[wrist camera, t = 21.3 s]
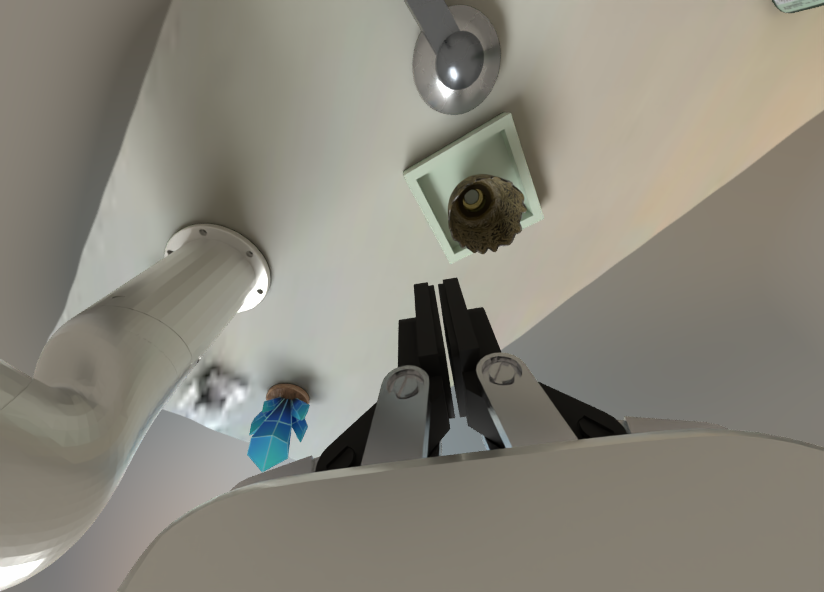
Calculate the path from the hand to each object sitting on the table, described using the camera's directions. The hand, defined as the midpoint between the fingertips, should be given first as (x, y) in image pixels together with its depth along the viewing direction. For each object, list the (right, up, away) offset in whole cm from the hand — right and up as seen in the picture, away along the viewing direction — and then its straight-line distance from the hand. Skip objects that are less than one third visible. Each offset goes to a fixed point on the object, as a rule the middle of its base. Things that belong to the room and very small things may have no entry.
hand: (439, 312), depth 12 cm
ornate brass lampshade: (+6, +12, +24) cm, 28 cm away
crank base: (+3, +23, +18) cm, 29 cm away
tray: (+6, +13, +24) cm, 28 cm away
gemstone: (-23, -17, +42) cm, 51 cm away
